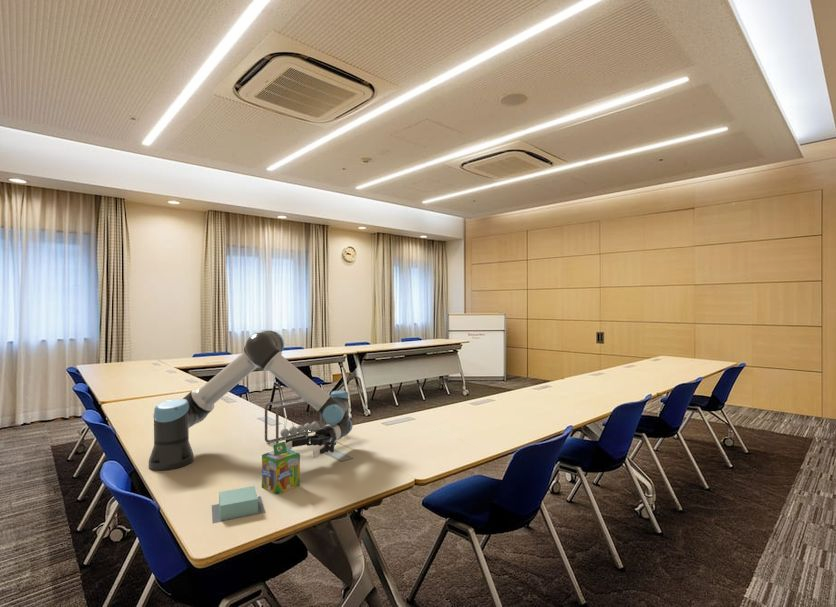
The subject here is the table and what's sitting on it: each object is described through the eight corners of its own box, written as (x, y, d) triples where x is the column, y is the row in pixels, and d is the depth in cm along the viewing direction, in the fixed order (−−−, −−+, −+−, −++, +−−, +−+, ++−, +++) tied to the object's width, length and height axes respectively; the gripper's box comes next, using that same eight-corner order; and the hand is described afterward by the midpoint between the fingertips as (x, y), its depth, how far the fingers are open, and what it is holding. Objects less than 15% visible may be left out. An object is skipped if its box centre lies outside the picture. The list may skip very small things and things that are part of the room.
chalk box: (277, 496, 139) (277, 450, 139) (260, 489, 144) (260, 444, 144) (300, 487, 146) (301, 442, 146) (284, 480, 152) (284, 437, 152)
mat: (212, 525, 121) (212, 523, 121) (211, 507, 131) (211, 505, 131) (265, 514, 127) (265, 512, 127) (260, 498, 138) (260, 496, 138)
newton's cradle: (276, 449, 184) (276, 407, 184) (264, 443, 191) (264, 403, 191) (334, 433, 207) (334, 395, 207) (321, 429, 214) (321, 392, 214)
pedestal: (220, 520, 122) (220, 505, 122) (219, 505, 131) (219, 492, 131) (258, 512, 127) (258, 498, 127) (254, 498, 136) (254, 485, 136)
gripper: (355, 447, 170) (328, 467, 150) (300, 441, 178) (267, 459, 158) (355, 428, 170) (328, 445, 150) (300, 423, 178) (267, 438, 158)
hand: (296, 452), depth 154 cm, fingers open, 13 cm apart
